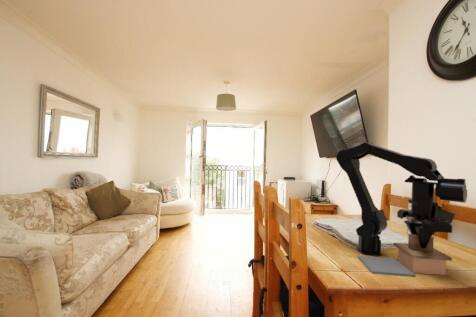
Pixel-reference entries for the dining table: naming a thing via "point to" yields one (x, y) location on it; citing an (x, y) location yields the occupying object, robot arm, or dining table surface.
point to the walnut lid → (421, 249)
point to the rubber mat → (385, 266)
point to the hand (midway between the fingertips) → (420, 246)
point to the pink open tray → (422, 264)
